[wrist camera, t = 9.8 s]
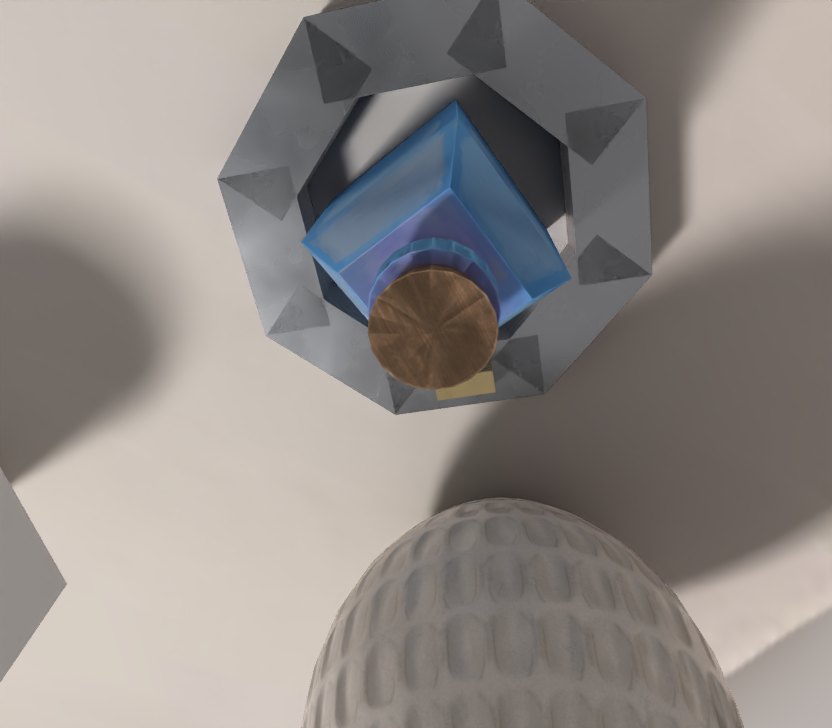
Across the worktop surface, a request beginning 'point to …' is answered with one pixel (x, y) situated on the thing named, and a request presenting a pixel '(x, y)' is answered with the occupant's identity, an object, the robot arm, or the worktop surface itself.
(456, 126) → the perfume bottle
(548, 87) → the ring
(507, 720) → the vase
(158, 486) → the worktop surface
